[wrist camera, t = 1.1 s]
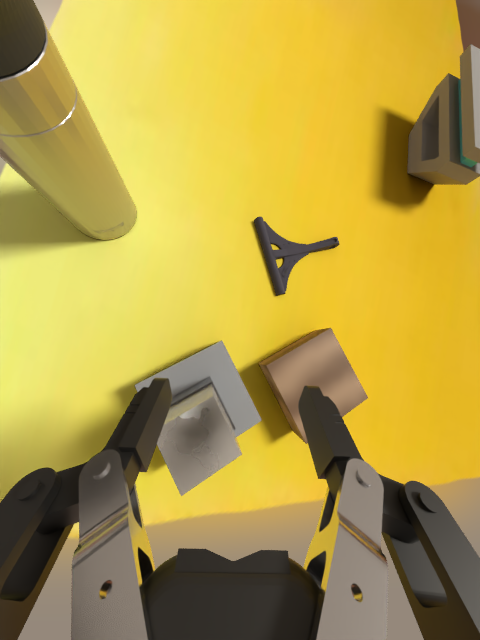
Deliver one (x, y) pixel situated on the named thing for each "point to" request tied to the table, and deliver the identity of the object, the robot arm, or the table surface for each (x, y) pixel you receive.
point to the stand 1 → (223, 376)
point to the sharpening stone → (449, 128)
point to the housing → (197, 436)
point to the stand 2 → (312, 375)
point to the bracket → (285, 253)
